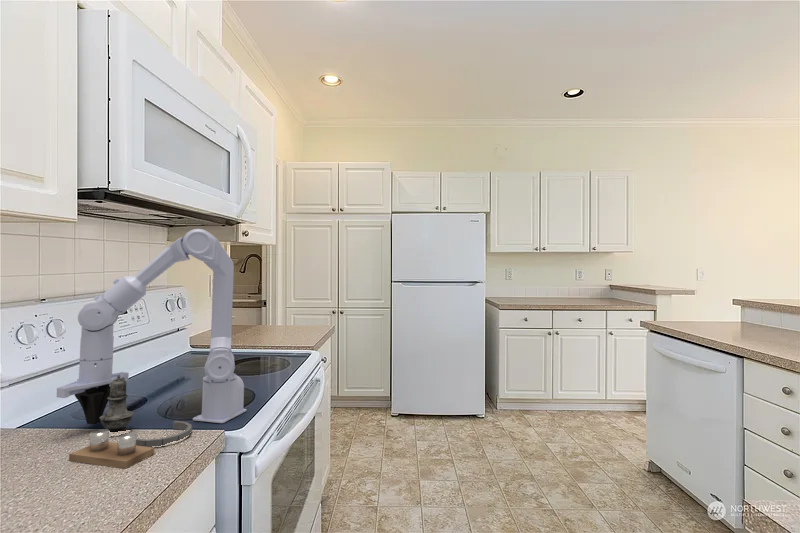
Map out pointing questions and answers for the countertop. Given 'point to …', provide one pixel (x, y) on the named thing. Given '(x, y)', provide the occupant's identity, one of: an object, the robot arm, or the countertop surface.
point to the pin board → (112, 450)
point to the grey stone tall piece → (117, 408)
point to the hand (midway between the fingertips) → (93, 423)
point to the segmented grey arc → (163, 441)
